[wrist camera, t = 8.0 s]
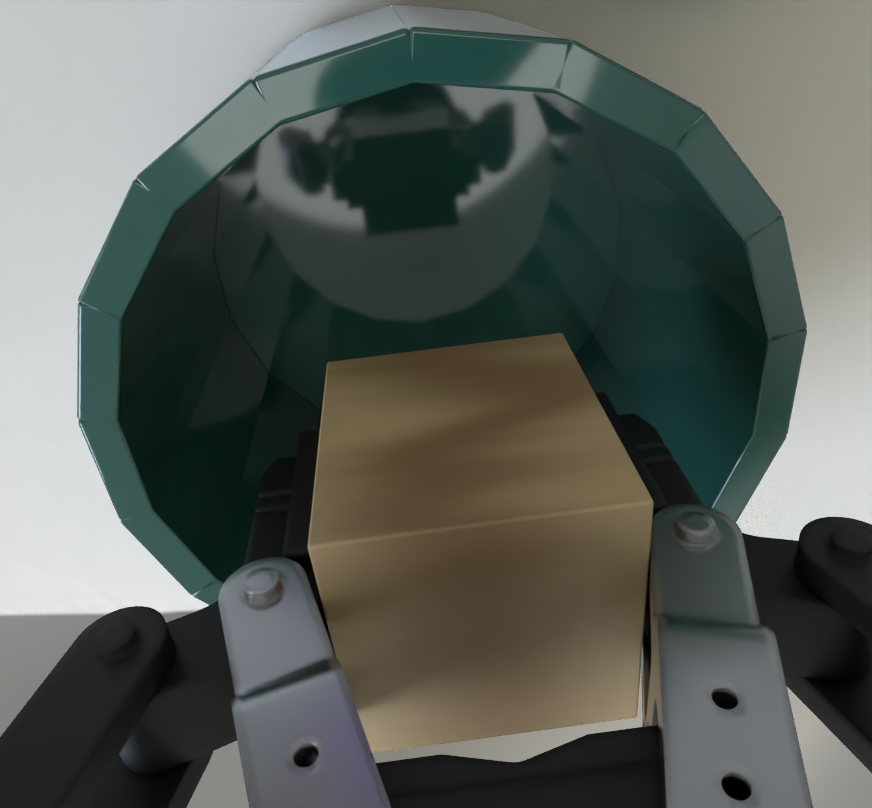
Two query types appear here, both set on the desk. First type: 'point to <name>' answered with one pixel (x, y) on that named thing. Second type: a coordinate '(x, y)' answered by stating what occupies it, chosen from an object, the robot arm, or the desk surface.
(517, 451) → the block
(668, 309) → the pot
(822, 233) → the desk surface
